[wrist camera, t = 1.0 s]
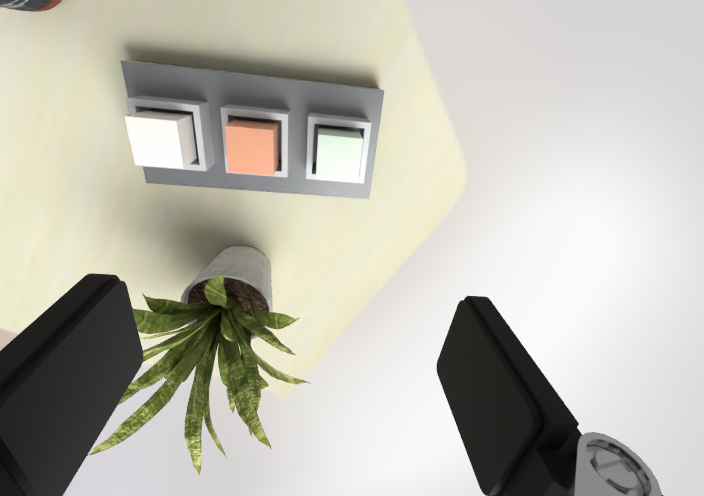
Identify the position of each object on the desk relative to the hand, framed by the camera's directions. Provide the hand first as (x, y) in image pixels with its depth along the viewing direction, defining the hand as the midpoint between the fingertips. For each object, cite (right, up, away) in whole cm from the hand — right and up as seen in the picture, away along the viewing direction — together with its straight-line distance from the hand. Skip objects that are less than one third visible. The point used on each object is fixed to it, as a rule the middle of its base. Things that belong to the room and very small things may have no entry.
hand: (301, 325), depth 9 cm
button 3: (0, +9, +13) cm, 16 cm away
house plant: (-10, 0, +22) cm, 24 cm away
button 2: (-5, +9, +13) cm, 17 cm away
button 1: (-10, +10, +12) cm, 19 cm away
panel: (-5, +11, +16) cm, 20 cm away
